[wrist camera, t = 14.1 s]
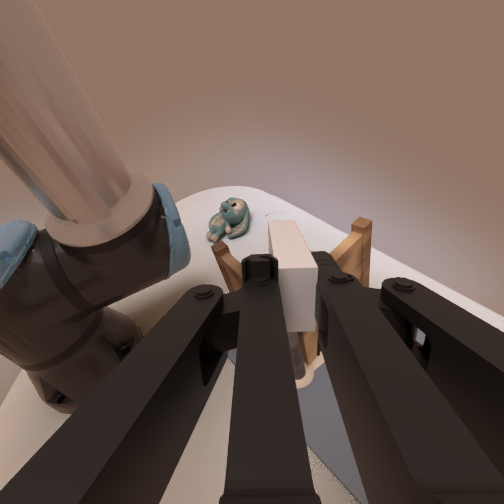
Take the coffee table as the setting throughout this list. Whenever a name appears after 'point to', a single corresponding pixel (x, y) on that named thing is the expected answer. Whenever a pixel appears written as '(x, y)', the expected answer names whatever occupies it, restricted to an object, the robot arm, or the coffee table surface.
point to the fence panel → (350, 261)
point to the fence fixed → (234, 282)
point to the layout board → (327, 423)
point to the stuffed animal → (229, 219)
